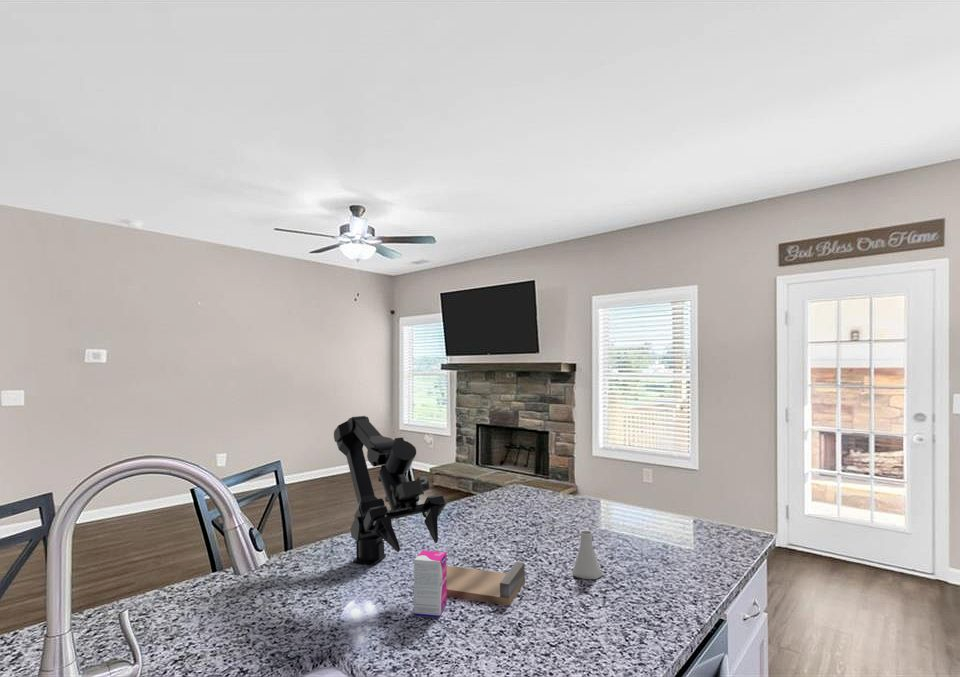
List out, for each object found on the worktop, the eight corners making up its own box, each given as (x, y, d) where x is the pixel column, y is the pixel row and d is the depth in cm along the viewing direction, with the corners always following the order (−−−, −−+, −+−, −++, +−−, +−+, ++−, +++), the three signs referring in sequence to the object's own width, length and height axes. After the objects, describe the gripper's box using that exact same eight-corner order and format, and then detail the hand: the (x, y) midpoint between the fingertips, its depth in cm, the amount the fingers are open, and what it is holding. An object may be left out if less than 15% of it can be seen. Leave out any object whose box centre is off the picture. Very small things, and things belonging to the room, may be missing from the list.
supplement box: (440, 618, 105) (439, 561, 105) (412, 616, 106) (411, 559, 107) (448, 605, 111) (446, 550, 111) (421, 603, 112) (420, 549, 112)
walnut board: (424, 592, 117) (424, 572, 117) (447, 571, 128) (446, 553, 128) (509, 605, 110) (508, 584, 110) (525, 582, 121) (524, 562, 121)
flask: (605, 570, 126) (604, 529, 127) (599, 582, 120) (597, 538, 120) (576, 566, 129) (575, 525, 130) (568, 577, 123) (567, 535, 123)
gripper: (367, 471, 113) (388, 536, 104) (441, 460, 124) (467, 518, 114) (355, 500, 120) (374, 563, 110) (427, 487, 130) (450, 544, 120)
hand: (418, 546), depth 113 cm, fingers open, 9 cm apart
